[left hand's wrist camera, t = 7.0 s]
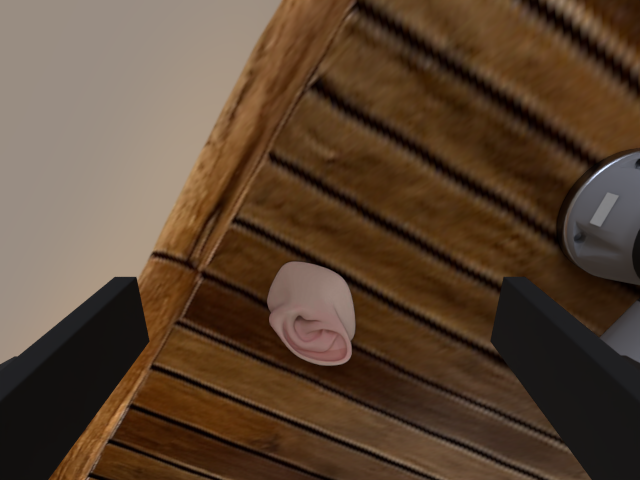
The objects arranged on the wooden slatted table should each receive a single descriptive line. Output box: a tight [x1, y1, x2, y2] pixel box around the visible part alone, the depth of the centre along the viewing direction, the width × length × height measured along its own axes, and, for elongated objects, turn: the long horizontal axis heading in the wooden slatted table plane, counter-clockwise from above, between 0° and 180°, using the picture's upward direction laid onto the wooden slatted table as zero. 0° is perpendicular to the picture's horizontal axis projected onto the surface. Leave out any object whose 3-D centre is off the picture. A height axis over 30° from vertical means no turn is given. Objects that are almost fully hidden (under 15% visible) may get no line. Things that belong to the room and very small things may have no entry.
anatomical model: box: [267, 262, 355, 365], centre depth 44 cm, size 13×4×12 cm
